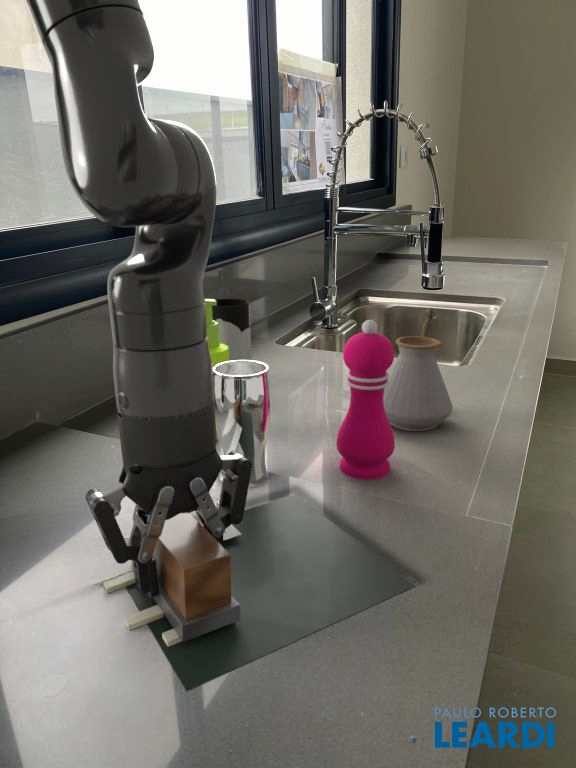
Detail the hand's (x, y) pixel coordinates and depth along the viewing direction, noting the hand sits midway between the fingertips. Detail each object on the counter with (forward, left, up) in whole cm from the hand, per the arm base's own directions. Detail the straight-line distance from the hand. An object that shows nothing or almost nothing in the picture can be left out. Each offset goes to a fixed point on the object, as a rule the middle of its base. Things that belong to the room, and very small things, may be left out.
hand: (181, 579), depth 52 cm
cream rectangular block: (-4, +4, -2) cm, 6 cm away
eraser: (0, 0, -1) cm, 1 cm away
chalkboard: (+7, 0, -3) cm, 8 cm away
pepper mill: (+29, +11, -3) cm, 31 cm away
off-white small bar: (-2, -5, -2) cm, 5 cm away
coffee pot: (+51, +24, -3) cm, 56 cm away
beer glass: (+15, +17, -3) cm, 23 cm away
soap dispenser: (+18, +34, -3) cm, 39 cm away
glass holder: (+34, +56, -3) cm, 66 cm away
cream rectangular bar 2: (-4, -1, -2) cm, 4 cm away
